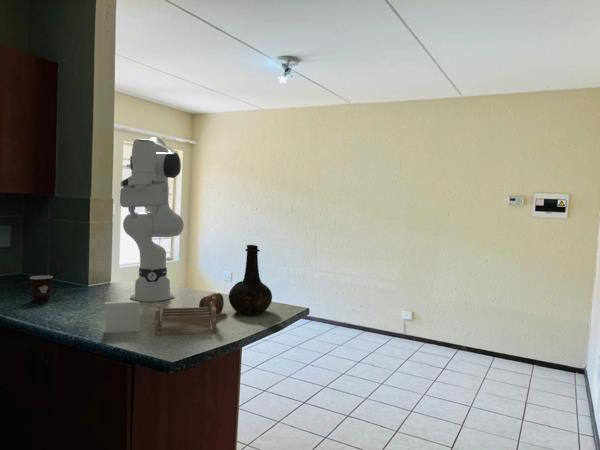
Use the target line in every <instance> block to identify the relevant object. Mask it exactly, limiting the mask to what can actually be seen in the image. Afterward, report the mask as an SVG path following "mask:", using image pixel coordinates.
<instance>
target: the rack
mask: <svg viewBox="0 0 600 450" xmlns="http://www.w3.org/2000/svg"><path fill="white" fill-rule="evenodd" d="M154 315H155V322H154V335H155V336H170V335H173V336H175V335H195V334H196V335H197V334H198V335H199V334H216V333H217V332H216V331H217V315H216V308H215V296H214V297H212V302H211V314H210V315H209V310H208V307H199V306H198V307H174V308H173V307H166V308H165V307H164V308H163V307H162V313H161V302H157V303H156V307H155V314H154Z"/></svg>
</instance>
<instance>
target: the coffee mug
mask: <svg viewBox="0 0 600 450" xmlns="http://www.w3.org/2000/svg"><path fill="white" fill-rule="evenodd" d="M53 280H54V276H52V275H35V276H30V277H29V281H23V282H21V283H20V285H19V289H20V290H21V291H22V292H24V293H26V294H28V295H30V297H31V298H32V302H33V301H37V302H36V303H43V302H42V301H46V302H48V300H49V301H51V295H52V294H51V293H52V286H53ZM23 284H28V285H29V287H30V290H31V293H30V292H29V291H26V290H24V289H23V288H22V285H23Z"/></svg>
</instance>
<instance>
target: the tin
mask: <svg viewBox="0 0 600 450" xmlns="http://www.w3.org/2000/svg"><path fill="white" fill-rule="evenodd" d="M214 296H215V308H216V316H217V315H220V314H221V313H222V311H223V309H224V304H225V302H224V296H223V295H222V293H219V292H218V293H217V292H215V293H211V294H208V295H206V296H203V297H202V298H200V301H199V304H198V308H199V307H208V310H209V315H210V314H211V302H212V297H214Z"/></svg>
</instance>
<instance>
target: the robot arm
mask: <svg viewBox="0 0 600 450" xmlns="http://www.w3.org/2000/svg"><path fill="white" fill-rule="evenodd" d="M129 159H130V160H129V161H130V162H129V163H130V164H129V165H130V167H129V168H130V170H131V174H130V176H128V177H127V178H125V179H122V180H121V181H120V187H121V189H120V192H119V203H120V204H119V205H120V206H121V207H122V208H128V212H129V213H128V214H127V215H126V216H125V217H124V219H123V222H122V223H123V224H122V225H123V231H124V232H125V233H126V234H127V235H128V236H129V237H130V238H131V239H133V241H134V242H135V244H136V245H137V247H138V251H139V260H140V261H139V264H140V266H139V267H138V278H137V279H136V280H134V281H135V283H134V284H135V285H134V294H132V295H131V296H130V300H136V301H140V302H163V301H166V300H171V299H175V295H174V294H173V293H172V292H171V285H170V284H171V283H170V282H171V280H170V279H169V278H168V277H167V272H168V267H167V251H166V249H165V248H164V247H163V246H161V245H159V244H157V243H155V242H154V241H153V238H172V237H178V236H180V235H181V233H182V232H183V230H184V224H185V223H184V221H183V218H182V217H181V215H179V214H177V213H176V212H174V210H173V209H171V207H170V203H169V196H170V195H169V194H170V193H169V192H170V191H169V190H170V189H169V181H168V178H169V179H170V178H171V179H175V178H176V177H177V176H178V175H180V173H181V169H182V162H181V161H182V160H181V157H180V155H179V153H178V152H176V151H175V150H174V149H172V148H170V147H168V146H167V144H166V143H165V141H164V140H163V139H162V138H159V137H156V136H152V137H149V138H138V139H135V140H133V143H132V148H131V156H130V158H129ZM140 207H141V208H142V207H144V208H145V210H146V212H135V210H136V208H140Z"/></svg>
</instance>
